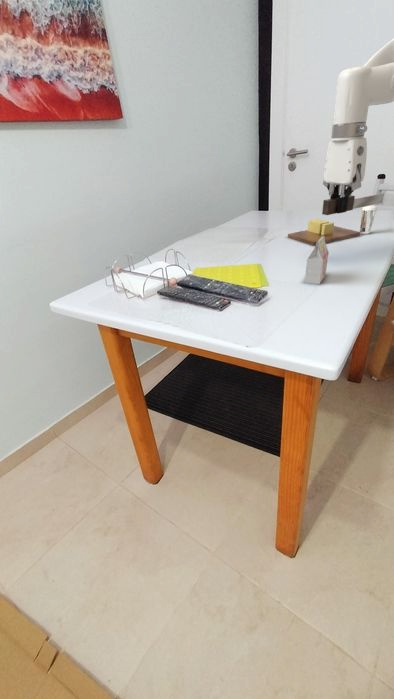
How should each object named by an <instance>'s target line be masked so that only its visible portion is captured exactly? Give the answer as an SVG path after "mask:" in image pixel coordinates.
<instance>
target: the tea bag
mask: <svg viewBox="0 0 394 699" xmlns="http://www.w3.org/2000/svg"><path fill="white" fill-rule="evenodd" d="M328 262H329V249H328V246H327V243H325V239H324V236H322V237H321V238H320V240H319V241H318V242H317V243H316V245H315V246H314V247H313V250H312V251H311V252H310V254H309V256H308V258H307V259H306V267H305V276H304V283H307V284H315V285H320V284H321V283H322V282H323V280H324V278H325V277H326V275H327V268H328Z"/></svg>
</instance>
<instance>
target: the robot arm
mask: <svg viewBox="0 0 394 699" xmlns="http://www.w3.org/2000/svg"><path fill="white" fill-rule="evenodd" d="M335 90H336V91H335V100H334V110H333V118H332V128H331V135H330V136H331V137H330V140H329V143H328V146H327V151H326V156H325V161H324V168H323V182H322V185H323V186H324V187H325V188H326V189H327V191H328V196H329V199H332V198H337V197H338V202H337V210H336V214H343V213H347V212H348V211H347V206H348V199H349V196H351V195H352V194H353V193H354V191H356V190H359V189H360V188H362V182H363V181H364V178H365V175H366V168H367V166H366V165H367V156H368V155H367V152H368V142H367V137H365V133H366V132H367V131H368V126H367V120H368V119H367V118H368V114H369V107H371V106H380V105H386V104H390V103H393V102H394V38H391V39H390V40H389V41H388V42H386V44H385V45H383V46H382V47H380V49H378V50H377V51H376V52H375V53H374V54H373V55H372V56H371V57H370V58H369V59H368V60H367V61H366V62H365V63H364V64H363V65H361V66H353V67H348V68H346V69H344V70H342V71H340V73H339V74H338V77H337V82H336V89H335Z"/></svg>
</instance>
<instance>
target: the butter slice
mask: <svg viewBox="0 0 394 699" xmlns="http://www.w3.org/2000/svg"><path fill="white" fill-rule="evenodd" d="M334 226H335V222H331V221H330V222H329V223H326V224H322V231H321V235H328V234H332V233H333V228H334Z"/></svg>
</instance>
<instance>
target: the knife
mask: <svg viewBox="0 0 394 699" xmlns="http://www.w3.org/2000/svg"><path fill="white" fill-rule="evenodd" d="M384 196H385V193H378V194H373V195H368V196H363V197H362V196H361V197H357V198H355V197H356V195H352V194H351V196H349V199H348V206H347V211H346V212H349V211H353V210H355V209H359V208H363V207H365V206H372V205H374V206H375V205H378V204H382V203H383V201H384ZM337 202H338V197H337V198H332V199H330V198H327V199H323V201H322V212H321V213H322V214H321V215H325V216H331V215H335V214H337V213H336V210H337Z"/></svg>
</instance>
